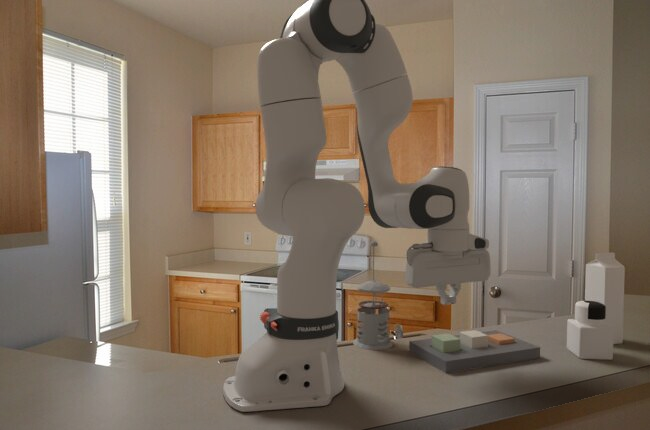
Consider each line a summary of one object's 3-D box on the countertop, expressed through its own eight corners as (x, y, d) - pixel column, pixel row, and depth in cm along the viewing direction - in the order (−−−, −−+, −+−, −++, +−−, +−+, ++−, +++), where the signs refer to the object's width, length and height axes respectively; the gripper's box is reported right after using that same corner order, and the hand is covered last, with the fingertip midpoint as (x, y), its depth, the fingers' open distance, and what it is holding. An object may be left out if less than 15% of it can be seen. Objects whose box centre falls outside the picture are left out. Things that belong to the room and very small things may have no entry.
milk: (622, 343, 115) (626, 254, 114) (602, 345, 114) (606, 254, 113) (601, 336, 121) (605, 251, 120) (582, 338, 119) (585, 251, 118)
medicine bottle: (597, 349, 111) (599, 299, 110) (613, 360, 104) (615, 306, 103) (566, 348, 111) (567, 298, 111) (579, 359, 104) (580, 305, 104)
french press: (348, 347, 112) (348, 242, 110) (360, 333, 123) (361, 237, 121) (389, 352, 108) (390, 243, 107) (398, 337, 119) (399, 239, 118)
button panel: (445, 373, 96) (445, 361, 96) (409, 351, 109) (409, 341, 109) (539, 357, 105) (540, 347, 105) (495, 339, 118) (496, 330, 118)
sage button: (443, 353, 101) (443, 341, 101) (431, 347, 105) (431, 335, 105) (460, 350, 103) (460, 339, 103) (448, 344, 107) (448, 333, 107)
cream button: (471, 349, 104) (472, 337, 104) (459, 343, 108) (459, 332, 108) (488, 346, 105) (488, 335, 105) (475, 341, 110) (475, 330, 109)
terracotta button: (498, 352, 107) (499, 340, 106) (485, 346, 111) (485, 335, 111) (514, 349, 108) (514, 338, 108) (500, 344, 112) (500, 333, 112)
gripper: (415, 245, 96) (415, 312, 97) (495, 240, 104) (495, 302, 104) (399, 242, 102) (399, 305, 103) (476, 237, 109) (476, 296, 110)
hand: (448, 303), depth 104 cm, fingers closed
